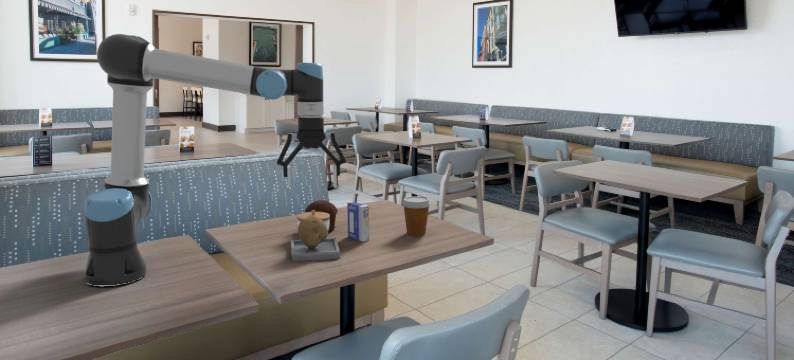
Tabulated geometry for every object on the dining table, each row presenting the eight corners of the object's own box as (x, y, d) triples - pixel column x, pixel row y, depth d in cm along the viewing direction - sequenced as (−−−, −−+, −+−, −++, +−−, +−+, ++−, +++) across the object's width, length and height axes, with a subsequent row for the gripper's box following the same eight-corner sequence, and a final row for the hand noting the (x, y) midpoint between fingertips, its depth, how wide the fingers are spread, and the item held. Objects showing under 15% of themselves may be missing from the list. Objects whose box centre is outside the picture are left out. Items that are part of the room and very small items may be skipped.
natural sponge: (317, 241, 186) (316, 211, 184) (334, 248, 179) (333, 216, 177) (293, 247, 180) (291, 216, 178) (309, 254, 173) (308, 221, 171)
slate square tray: (292, 261, 172) (291, 254, 172) (291, 247, 185) (291, 240, 185) (339, 258, 175) (339, 251, 174) (335, 244, 188) (335, 237, 188)
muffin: (298, 230, 204) (297, 202, 201) (320, 222, 212) (319, 195, 210) (324, 236, 197) (322, 207, 195) (345, 228, 206) (344, 200, 203)
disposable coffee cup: (419, 239, 194) (419, 203, 191) (396, 234, 199) (396, 199, 197) (435, 232, 201) (435, 198, 199) (412, 228, 207) (413, 194, 204)
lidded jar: (306, 244, 187) (305, 216, 186) (292, 236, 196) (291, 209, 194) (336, 239, 193) (335, 211, 191) (321, 232, 202) (320, 205, 200)
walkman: (347, 237, 196) (347, 202, 194) (354, 235, 198) (353, 200, 196) (362, 242, 191) (362, 206, 188) (369, 240, 192) (369, 204, 190)
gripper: (266, 117, 166) (269, 191, 170) (354, 117, 171) (355, 188, 175) (267, 115, 173) (269, 186, 177) (351, 114, 178) (352, 183, 182)
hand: (312, 187), depth 176 cm, fingers open, 13 cm apart
